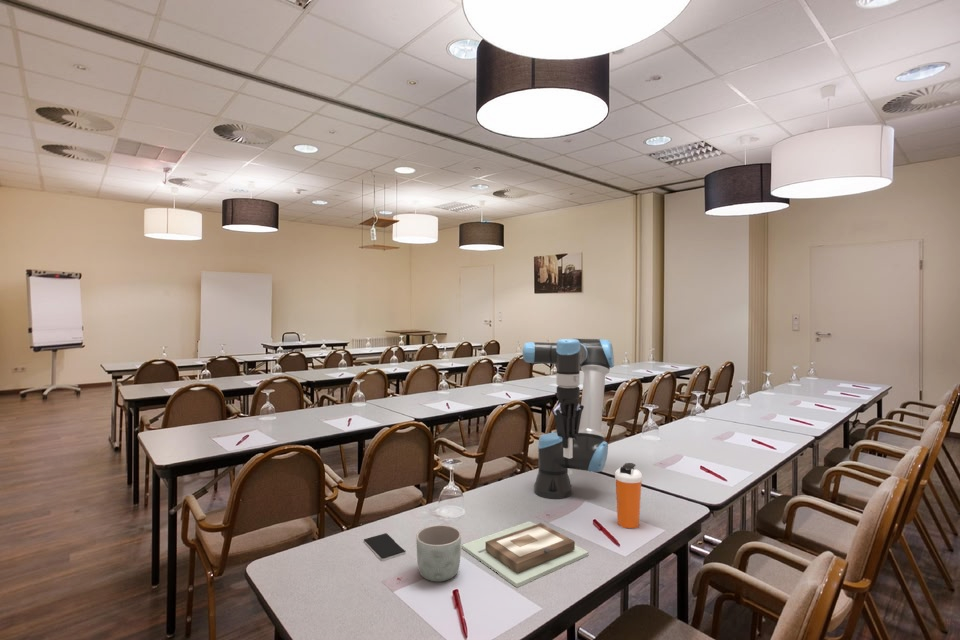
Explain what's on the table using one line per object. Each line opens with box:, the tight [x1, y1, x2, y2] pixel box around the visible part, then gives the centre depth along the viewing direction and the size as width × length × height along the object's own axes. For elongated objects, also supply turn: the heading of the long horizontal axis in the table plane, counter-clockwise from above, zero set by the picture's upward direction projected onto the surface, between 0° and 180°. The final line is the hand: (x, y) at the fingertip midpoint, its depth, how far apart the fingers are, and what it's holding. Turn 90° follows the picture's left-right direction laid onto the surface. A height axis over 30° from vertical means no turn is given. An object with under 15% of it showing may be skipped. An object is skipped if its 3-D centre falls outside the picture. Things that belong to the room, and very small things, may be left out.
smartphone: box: [363, 532, 407, 562], centre depth 148 cm, size 8×1×15 cm
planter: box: [415, 524, 462, 583], centre depth 134 cm, size 12×12×11 cm
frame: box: [486, 522, 576, 573], centre depth 143 cm, size 16×22×3 cm
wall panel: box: [461, 520, 589, 588], centre depth 146 cm, size 26×28×1 cm
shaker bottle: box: [614, 462, 643, 529], centre depth 164 cm, size 9×9×20 cm
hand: (567, 457), depth 159 cm, fingers closed
